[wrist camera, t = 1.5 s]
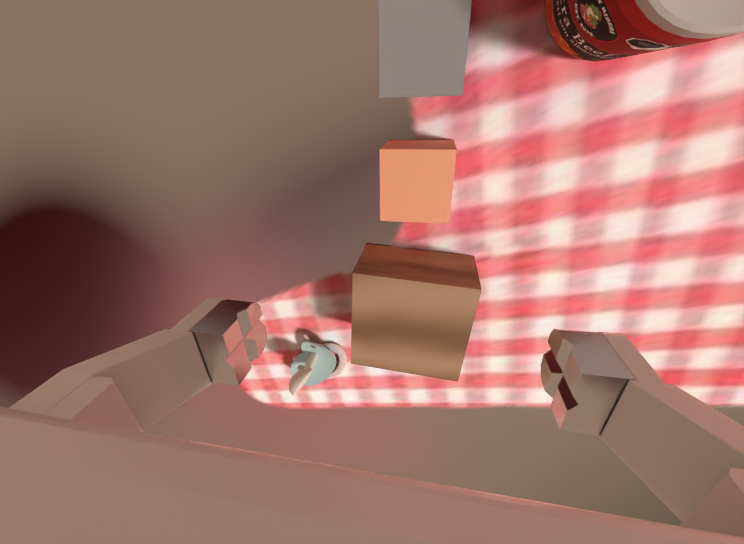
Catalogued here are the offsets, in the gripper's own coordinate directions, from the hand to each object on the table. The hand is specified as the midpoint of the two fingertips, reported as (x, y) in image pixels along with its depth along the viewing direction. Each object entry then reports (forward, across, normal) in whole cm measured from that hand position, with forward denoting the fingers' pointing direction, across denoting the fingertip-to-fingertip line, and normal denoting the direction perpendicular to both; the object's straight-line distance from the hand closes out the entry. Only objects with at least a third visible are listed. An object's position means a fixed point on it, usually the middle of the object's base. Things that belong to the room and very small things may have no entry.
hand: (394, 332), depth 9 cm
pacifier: (+21, +11, +22) cm, 32 cm away
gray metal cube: (+20, 0, -9) cm, 22 cm away
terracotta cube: (+20, 0, -1) cm, 20 cm away
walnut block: (+20, 0, +11) cm, 23 cm away
